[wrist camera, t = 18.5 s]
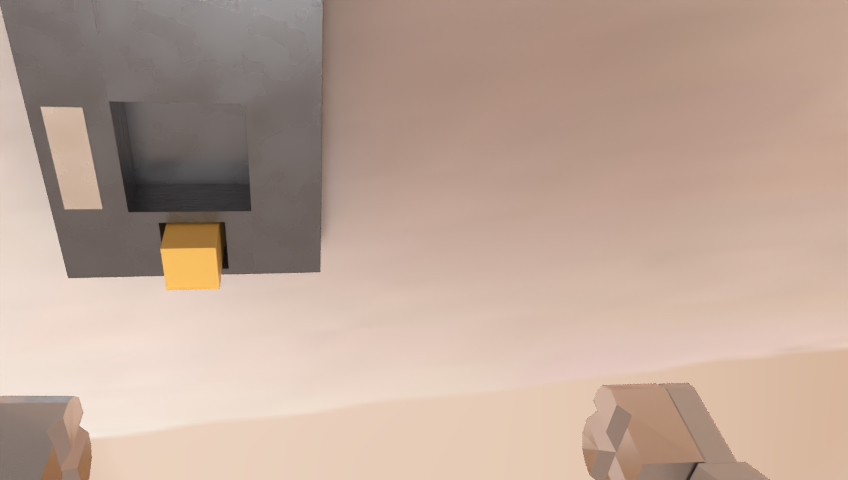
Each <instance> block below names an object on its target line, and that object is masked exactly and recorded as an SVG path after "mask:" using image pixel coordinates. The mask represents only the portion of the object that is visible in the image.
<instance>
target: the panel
mask: <svg viewBox="0 0 848 480" xmlns="http://www.w3.org/2000/svg"><path fill="white" fill-rule="evenodd" d="M0 6H1V10H2V14H3V18H4V22H5V26H6V30H7V34H8V38H9V42H10V46H11V50H12V54H13V58H14V62H15V66H16V70H17V74H18V78H19V82H20V86H21V90H22V95H23V99H24V103H25V107H26V111H27V115H28V119H29V123H30V127H31V131H32V135H33V139H34V143H35V147H36V151H37V155H38V159H39V163H40V167H41V171H42V175H43V179H44V183H45V187H46V191H47V195H48V199H49V203H50V207H51V211H52V215H53V219H54V223H55V227H56V231H57V235H58V239H59V243H60V247H61V251H62V255H63V259H64V263H65V267H66V271H67V275H68V278H91V277H134V276H164V270H163V263H162V257H161V250H160V248H161V244H162V240H163V236H164V231H165V227H166V223H184V222H224V229H225V247H224V256H223V264H222V272H221V274H263V273H305V272H320V250H321V143H322V37H323V0H0Z"/></svg>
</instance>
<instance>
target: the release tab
mask: <svg viewBox="0 0 848 480" xmlns="http://www.w3.org/2000/svg"><path fill="white" fill-rule="evenodd" d="M224 247H225V229H224V222H184V223H166V227H165V231H164V236H163V240H162V244H161V248H160V250H161V257H162V263H163V270H164V276H165V283H166V290H189V289H220V281H221V272H222V264H223V256H224Z"/></svg>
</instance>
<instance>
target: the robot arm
mask: <svg viewBox="0 0 848 480" xmlns="http://www.w3.org/2000/svg"><path fill="white" fill-rule="evenodd" d="M594 403H595V406H596V408H597V411H596V412H595V413H594V414H592V415H591V416H590V417H589V418H587V420H586V424H585V427H584V430H583V454H584V459H585V463H586V466H587V469H588V472H589V474H590V476H592V477H593V478H594V479H595V480H770V479H768V478H766V477H765V476H764V475H763V474H761V473H760V472H759V471H757V470H756V469H754V468H753V467H752V466H750V465H749V464H748V463H746V462H737V461H736V459H735V457H734V456H733V454H732V452H731V450H730V449H729V447H728V445H727V444H726V442H725V440H724V438H723V437H722V435H721V433H720V431H719V430H718V428H717V426H716V424H715V423H714V421H713V419H712V418H711V416H710V414H709V412H708V411H707V409H706V407H705V405H704V404H703V402H702V400H701V399H700V397H699V395H698V393H697V392H696V390H695V388H694V387H693V386H691V385H690V384H689V383H671V384H670V383H667V384H656V383H654V384H627V385H626V384H625V385H624V384H623V385H603V386H601V387H600V388H599V389H598V390H597V393H596V395H595V398H594ZM82 415H83V410H82V406H81V403H80V400H79V397H75V396H0V480H89V476H90V468H91V459H92V456H91V442H90V438H89V433H88V432H87V431H86V430H84V429H83V428H82V427H80V426H79V424H80V421H81V418H82Z"/></svg>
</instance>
